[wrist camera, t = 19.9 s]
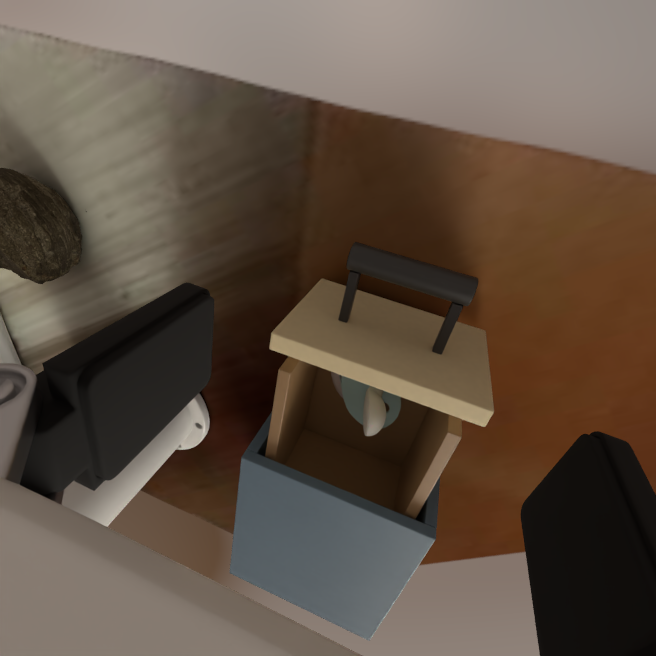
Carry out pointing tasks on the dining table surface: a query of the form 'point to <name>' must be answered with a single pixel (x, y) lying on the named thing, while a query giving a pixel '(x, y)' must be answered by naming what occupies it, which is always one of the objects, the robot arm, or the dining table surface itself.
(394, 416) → the pacifier
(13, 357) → the square plate
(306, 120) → the dining table surface
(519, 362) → the dining table surface
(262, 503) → the cabinet
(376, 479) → the drawer
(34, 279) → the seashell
